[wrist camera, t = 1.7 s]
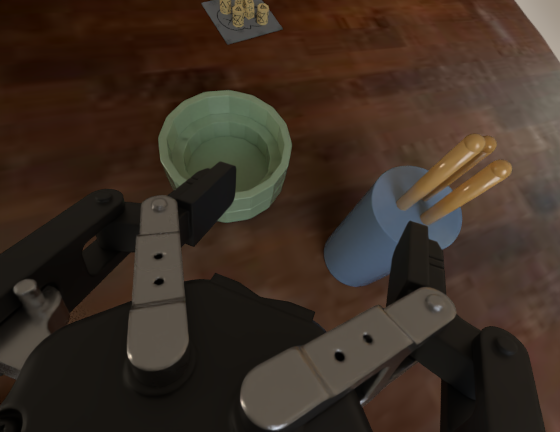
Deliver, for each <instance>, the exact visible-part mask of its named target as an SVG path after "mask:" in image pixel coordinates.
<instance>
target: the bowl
mask: <svg viewBox="0 0 560 432" xmlns="http://www.w3.org/2000/svg"><path fill="white" fill-rule="evenodd" d="M158 142H159V152H160V160H161V163H162V165H163V168H164V170H165V173H166V175H167V177H168V180H169V182H170V185H171V187H172V189H173V190H175V189H176V188H178V187H179V186H180V185H181V184H183V183H184V182H186V180H188V179H189V178H191V176H193V175H194V174H195V173H196V172H198V171H200V170H203V169H206V168H209V169H211V168H212V167H213V166H215V165H216V164H217V163H218V162H220V161H221V162H225V163H228V164H231V165H234V166H236V170H237V172H236V191H235V198H234V201H233V203H232V205H231V206H230V207H229V208H228V209H227V210H226V212H225V213H224V214H223V215H222V216H221V217H220V218H219V219H218V220H217V221H220V222H226V223H228V222H234V221H241V220H247V219H250V218H252V217H254V216H256V215H257V214H259V213H261V212H262V211H264V210H266V209H267V208H269V207H270V206H271V204H272V203H273V201H274V200H275V199H276V197H277V196H278V195H279V193H280V192H281V190H282V186H283V183H284V179H285V176H286V172H287V168H288V164H289V159H290V154H291V149H292V143H291V139H290V135H289V132H288V128H287V125H286V123H285V122H284V121H283V119H282V118H281V117H280V116H279V114H278V113H277V112H276V111H275V109H274V108H273V107H271V106H270V105H268V104H266V103H265V102H263V101H261V100H260V99H258V98H256V97H255V96H252V95H249V94H245V93H240V92H236V91H232V90H223V91H211V92H204V93H201V94H199V95H196V96H194V97H192V98H189V99H187V100H185V101H183V102H182V103H181V104H180V105H179V106H178V107H176V108H175V109H174V110H173V111H172V112H171V113H170V114H169V115H168V116H167V117H166V119H165V122H164V124H163V127H162V129H161V132H160V135H159V137H158Z"/></svg>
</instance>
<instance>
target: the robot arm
mask: <svg viewBox="0 0 560 432" xmlns="http://www.w3.org/2000/svg"><path fill="white" fill-rule="evenodd" d="M236 172H237V170H236V166H234V165H231V164H228V163H225V162H221V161H220V162H218V163H217V164H216V165H215V166H213V167H212V168H211V169H209V168H206V169H203V170H200V171H198V172H196V173H195V174H194V175H193V176H191V178H189V179H188V180H186V182H184V183H183V184H181V185H180V186H179V187H178V188H176V189H175V190H174V191H173V192H172V193H170V194H169V195H168V196H164V195H158V196H153V197H150V198H147V199H146V200H144V201H143V203H132V202H124V198H123V194H122V193H121V192H119V191H117V190H114V189H102V190H98V191H95V192H92V193H91V194H89V195H87V196H86V197H84V198H83V199H81V200H80V201H79V202H77V203H76V204H74V205H73V206H71V207H70V208H68V209H67V210H65V211H64V212H62V213H61V214H59V215H58V216H56V217H55V218H53V219H52V220H50V221H49V222H47V223H46V224H45V225H43V226H42V227H40V228H39V229H37V230H36V231H34V232H33V233H31V234H30V235H28V236H27V237H25V238H24V239H22V240H21V241H19V242H18V243H16V244H15V245H13V246H12V247H10V248H9V249H8V250H6V251H5V252H3V253H2V254H0V376H2V375H6V376H9V377H11V378H13V379H16V382H15V383H14V385H13V387H12V389H11V391H10V392H9V394H8V395H7V397H6V398H5V400H4V401H3V402H2V404H1V405H0V432H373V431H372V429H371V427H370V424H369V422H368V419H367V417H366V415H365V412H364V410H363V408H362V407H363V406H365V405H366V404H367V403H369V402H370V401H371V400H372V399H373V398H374V397H375V396H376V395H377V394H378V393H379V392H380V391H381V390H382V389H383V388H385V387H386V386H387V385H388V384H390V383H391V382H392V381H394V380H395V379H396V378H398V377H399V376H400V375H402V374H403V373H404V372H406V371H407V370H408V369H410V368H411V367H412V366H414V365H415V364H416V363H418V362H419V363H420V364H422V365H423V366H425V367H426V368H427V369H429V370H430V371H432V372H433V373H434V374H436V375H437V376H438V377H440V378H441V416H440V432H546V431H545V427H544V422H543V418H542V413H541V409H540V404H539V399H538V395H537V390H536V386H535V381H534V377H533V372H532V367H531V363H530V358H529V355H528V352H527V350H526V348H525V347H524V345H523V344H522V343H521V342H520V341H519V340H518V339H517V338H516V337H515V336H514V335H512V334H511V333H509V332H507V331H506V330H503V329H501V328H498V327H493V326H489V327H485V328H484V329H482V331H480V330H479V329H477V328H476V327H474V326H472V325H471V324H469V323H467V322H466V321H464V320H463V319H461V318H460V317H459V316H458V315H457V314H456V309H455V306H454V304H453V302H452V301H451V300H450V299H449V298H448V297H447V296H446V285H445V271H444V262H443V261H444V258H443V251H442V249H441V247H440V246H439V244H438V242H437V241H433V240H430V239H429V236H428V226H426V225H422V224H419V223H416V222H413V221H409V222H408V223H407V225H406V227H405V229H404V231H403V233H402V235H401V238H400V240H399V242H398V244H397V246H396V248H395V250H394V253H393V256H392V261H391V269H390V278H389V286H388V295H387V303H386V307H385V308H382V307H381V306H380V305H376V306H374V307H372V308H370V309H368V310H366V311H364V312H363V313H361V314H359V315H357V316H355V317H354V318H352V319H350V320H348V321H346V322H345V323H343V324H341V325H339V326H337V327H336V328H334V329H332V330H330V331H328V332H326V331H325V330H324V329H323V328H322V327H321V326H320V325H319V324H318V323H316V322H315V321H313V317H314V314H315V312H314V311H312V310H309V309H306V308H304V307H301V306H299V305H296V304H294V303H291V302H287V301H281V300H275V299H268V298H263V297H260V296H258V295H257V294H255V293H254V292H252V291H251V290H250V289H248V288H247V287H245V286H244V285H242V284H241V283H239V282H237V281H235V280H232V279H230V278H227V277H224V276H222V275H219V274H217V273H215V274H214V276H213V277H212V278H211V280H205V279H198V280H190V281H185V282H184V277H183V265H182V253H181V247H182V246H183V245H184V244H188V245H190V246H193V247H194V246H195V245H196V244H197V243H198V242H199V241H200V240H201V238H202V237H203V236H204V235H205V234H206V233H207V232H208V231H209V229H210V228H211V227H212V226H213V225H214V224H215V223H216V222H217V220H218V219H219V218H220V217H221V216H222V215H223V214H224V213H225V212H226V210H227V209H228V208H229V207H230V206H231V205H232V203H233V201H234V198H235V191H236ZM95 235H96V237H97V239H96V240H95V241H94V242H93V243H92V244H90V245H89V246H88V247H87V248H86V249H84V250H83V247H84V245H85V244H86V243H87V242H88V241H89V240H90V239H91V238H93V237H94V236H95ZM82 250H83V251H82ZM130 252H135V263H134V279H133V294H132V301H130V302H127V303H125V304H122V305H119V306H117V307H114V308H111V309H108V310H106V311H103V312H100V313H98V314H95V315H92V316H90V317H87V318H84V319H81V320H79V321H76V322H73V323H71V324H68V322H69V319H70V312H71V311H72V310H73V309H74V308H75V307H76V306H77V305H78V304H79V303H80V302H81V301H82V300H83V299H84V298H85V297H86V296H87V295H88V294H89V293H90V292H91V291H92V290H93V289H94V288H95V287H96V286H97V285H98V284H99V283H100V282H101V281H102V280H103V279H104V278H105V277H106V276H107V275H108V274H109V273H110V272H111V271H112V270H113V269H114V268H115V267H116V266H117V265H118V264H119V263H120V262H121V261H122V260H123V259H124V258H125V257H126V256H127V255H128V254H129V253H130ZM67 324H68V325H67Z"/></svg>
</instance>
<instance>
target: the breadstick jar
mask: <svg viewBox="0 0 560 432" xmlns="http://www.w3.org/2000/svg"><path fill="white" fill-rule="evenodd" d="M496 146H497V142H496V140H495V138H493V137H492V136H482V135H480V134H476V133H474V134H470V135H468V136H466V137H465V138H464V139H463V140H462V141H461V142H460V143H459V144H457V145H456V146H455V147H454V148H453V149H452V150H451V151H450V152H449V153H448V154H447V155H445V156H444V157H443V158H442V159H441V160H440V161H439V162H438V163H437V164H436V165H435V166H433V167H432V168H431V169H430V170H429V171H428V170H426V169H423V168H420V167H415V166H399V167H395V168H392V169H390V170H388V171H386V172H385V173H383V174H382V175H381V176H380V177H379V178H378V179H377V180H376V182H375V183H374V184H373V185H372V186H371V188H370V189H369V190H368V191H367V192H366V194H365V195H364V196H363V197H362V198H361V200H360V201H359V202H358V203H357V204H356V205H355V207H354V208H353V209H352V210H351V211H350V213H349V214H348V215H347V216H346V217H345V219H344V220H343V221H342V222H341V223H340V225H339V226H338V227H337V228H336V229H335V231H334V232H333V233H332V234H331V235H330V237H329V238H328V240H327V241H326V244H325V248H324V259H325V263H326V265H327V268H328V269H329V271H330V273H331V274H332V275H333V276H334V277H335V278H336V279H337V280H339V281H340V282H342V283H344V284H346V285H349V286H354V287H361V286H365V285H368V284H370V283H372V282H375V281H377V280H379V279H381V278H383V277H385V276H387V275H389V274H390V269H391V261H392V256H393V253H394V250H395V248H396V246H397V244H398V242H399V240H400V238H401V235H402V233H403V231H404V229H405V227H406V225H407V223H408V222H409V221H413V222H416V223H419V224H422V225H426V226H428V236H429V239H430V240H433V241H437V242H438V244H439V246H440V247H441V249H442V250H443V249H445V248H446V247H448V246H449V245H451V244H452V243H453V242H454V241H455V239H456V238H457V236H458V234H459V232H460V229H461V225H462V212H461V206H462V205H464V204H465V203H467V202H469V201H470V200H472V199H473V198H475V197H477V196H478V195H480V194H481V193H483V192H485V191H486V190H488V189H489V188H491V187H493V186H494V185H496V184H497V183H499V182H501V181H502V180H504V179H505V178H507V177H508V176H509V175H510V174H511V172H512V165H511V164H510V163H509V162H508V161H506V160H496V161H494V162H492V163H491V164H489V165H488V166H487V167H485V168H484V169H483V170H481V171H480V172H478V173H477V174H476V175H474V176H473V177H471V178H470V179H469V180H467V181H466V182H464V183H463V184H462V185H460V186H459V187H458V188H456V189H455V190H453V191H452V189H451V188H450V187H449V186H448V185H450V184H451V183H452V182H454V181H455V180H456V179H458V178H459V177H460V176H462V175H463V174H464V173H466V172H467V171H468V170H469V169H471V168H472V167H473V166H475V165H476V164H477V163H479V162H480V161H481V160H483V159H484V158H485V157H487V156H488V155H489V154H490V153H492V152H493V151H494V150H495V149H496Z"/></svg>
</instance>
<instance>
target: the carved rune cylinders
mask: <svg viewBox="0 0 560 432" xmlns="http://www.w3.org/2000/svg"><path fill="white" fill-rule="evenodd" d="M219 11H220V12H221V13H222V14H226V15H228V14H230V13H231V12H232V25H233V26H235V27H239V28H241V27H242V26H244V25H245V17H246V18H247V19H248V20H249V19H252V18H254V17H255V11H256V22H257V23H258V24H259V25H264V26H265V25H266V24H268V23H269V13H270V10H269V7H268V5H266V4H265V3H264V2H260V3H259V4H258V5H257V7H256V10H255V2H254V0H234V6H232V0H219Z"/></svg>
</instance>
